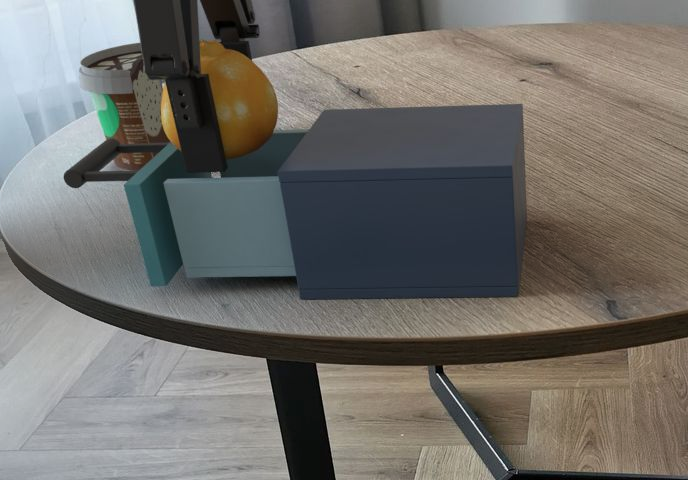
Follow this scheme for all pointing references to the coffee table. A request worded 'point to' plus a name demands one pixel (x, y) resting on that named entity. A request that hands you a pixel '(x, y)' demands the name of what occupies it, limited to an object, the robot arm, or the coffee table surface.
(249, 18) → the robot arm
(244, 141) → the fruit
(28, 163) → the coffee table surface
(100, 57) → the food container
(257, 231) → the drawer
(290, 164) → the cabinet
